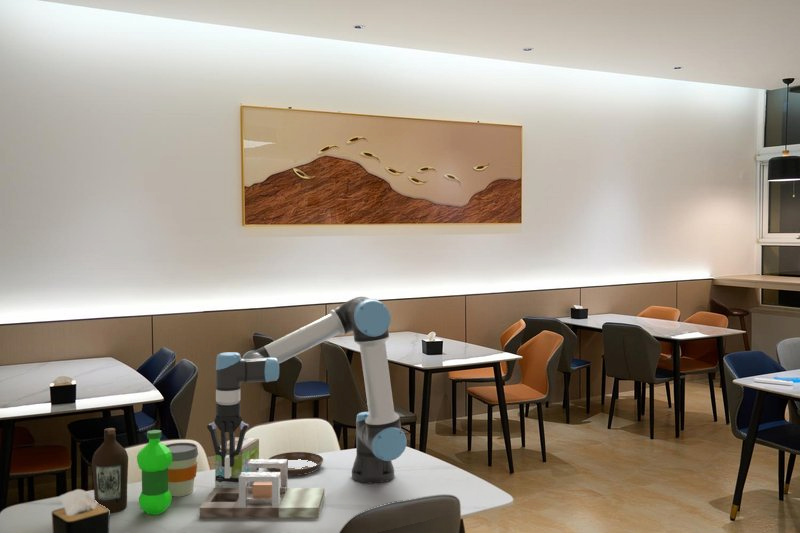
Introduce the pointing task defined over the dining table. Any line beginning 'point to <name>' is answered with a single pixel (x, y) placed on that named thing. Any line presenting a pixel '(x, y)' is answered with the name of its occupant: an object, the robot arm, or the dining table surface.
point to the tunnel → (264, 477)
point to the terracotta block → (262, 490)
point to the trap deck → (292, 504)
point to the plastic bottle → (154, 474)
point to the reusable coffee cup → (182, 468)
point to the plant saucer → (296, 456)
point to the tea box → (236, 463)
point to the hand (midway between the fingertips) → (228, 476)
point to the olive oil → (110, 473)
